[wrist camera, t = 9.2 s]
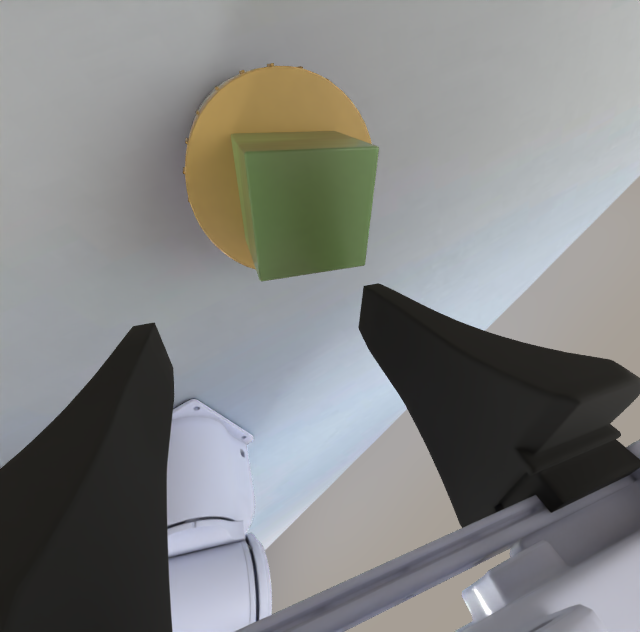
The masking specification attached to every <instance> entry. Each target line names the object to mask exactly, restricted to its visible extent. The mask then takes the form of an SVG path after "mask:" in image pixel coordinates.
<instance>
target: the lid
mask: <svg viewBox="0 0 640 632" xmlns="http://www.w3.org/2000/svg"><path fill="white" fill-rule="evenodd" d="M239 73H240V74H239V75H237V76H235V77H233V78H231V79H230V80H228V81H227V82H225V83H224V84H223V85H222V86H220V87H219V88H218V87H217V86H216V87H215V88H214V89H215V90H216V91H215V92H214V93H213V94H212V95H211V96H210V97H209V98H208V99H207V100H206V102H205V103H204V105H203V106H202V108H201V109H200V111H198V110H197V111H196V114H197V117H196V119H195V121H194V123H193V125H192V128H191V131H190V135H189V138H186V141H185V143H186V144H187V149H186V158H185V167H183V174H185V179H186V187H187V193H188V202H190V204H191V207H192V209H193V212H194V215H195V217H196V219H197V221H198V222H199V225H200V227H201V228H202V229H203V231H204V232H205V234H206V235H207V236H208V238H209V239H210V240H211V241H212V242H213V243H214V244H215V245H216V247H217V248H219V249H220V250H221V251H222V252H223V253H225V254H226V255H227V256H229V257H230V258H232V259H233V260H235V261H236V262H238V263H240V264H243V265H245V266H247V267H250V268H253V269H256V268H255V265H254V262H253V260H252V257H251V254H250V251H249V248H248V245H247V242H246V239H245V232H244V225H243V218H242V211H241V204H240V197H239V190H238V183H237V177H236V170H235V163H234V156H233V149H232V142H231V134H234V133H273V132H313V131H336V132H339V133H342V134H345V135H348V136H350V137H353V138H356V139H359V140H362V141H364V142H367V143H370V144H372V143H371V139H370V136H369V133H368V130H367V127H366V125H365V123H364V121H363V119H362V117H361V115H360V113H359V111H358V110H357V108H356V107H355V105H354V104H353V103H352V101H351V100H350V99H349V98H348V97H347V96H346V95H345V94H344V92H343V91H342V90H340V89H339V88H338V87H337V86H336V85H334V84H333V83H332V82H331V81H329V80H328V79H325V78H324V77H322V76H320V75H318V74H316V73H313V72H311V71H308V70H305V69H303V67H301V66H300V67H291V66H274V63H271V64H267V67H264V68H257V69H253V70H250V71H247V72H245V71H244V70H241V71H239Z"/></svg>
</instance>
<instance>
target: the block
mask: <svg viewBox="0 0 640 632" xmlns="http://www.w3.org/2000/svg"><path fill="white" fill-rule="evenodd" d="M231 142H232V149H233V156H234V163H235V170H236V177H237V183H238V190H239V197H240V204H241V211H242V218H243V225H244V232H245V239H246V242H247V245H248V248H249V251H250V254H251V257H252V260H253V262H254V265H255V268H256V271H257V274H258V277H259V280H260V281H268V280H274V279H281V278H287V277H293V276H300V275H306V274H313V273H319V272H326V271H332V270H339V269H345V268H351V267H358V266H364V265H365V260H366V251H367V243H368V235H369V226H370V218H371V210H372V202H373V193H374V185H375V177H376V168H377V160H378V152H379V147H378V146H375V145H373V144H370V143H367V142H364V141H362V140H359V139H356V138H353V137H350V136H348V135H345V134H342V133H339V132H336V131H313V132H273V133H234V134H231Z"/></svg>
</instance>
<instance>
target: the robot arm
mask: <svg viewBox="0 0 640 632" xmlns="http://www.w3.org/2000/svg"><path fill="white" fill-rule="evenodd" d="M359 330H360V332H361V334H362V337H363V339H364V341H365V343H366V345H367V347H368V349H369V350H370V352H371V354H372V355H373V357H374V358H375V360H376V361H377V363H378V364H379V366H380V367H381V369H382V370H383V372H384V373H385V375H386V376H387V377H388V379H389V380H390V382H391V383H392V385H393V386H394V388H395V389H396V391H397V392H398V394H399V395H400V397H401V399H402V400H403V402H404V403H405V405H406V407H407V409H408V411H409V413H410V415H411V417H412V418H413V420H414V422H415V424H416V426H417V428H418V430H419V432H420V434H421V436H422V438H423V440H424V442H425V444H426V446H427V448H428V450H429V452H430V455H431V457H432V459H433V461H434V463H435V466H436V467H437V470H438V472H439V474H440V476H441V479H442V481H443V484H444V486H445V488H446V491H447V493H448V495H449V498H450V500H451V503H452V505H453V507H454V510H455V513H456V515H457V518H458V520H459V523H460V525H461V526H462V529H459V530H457V531H455V532H452V533H450V534H448V535H446V536H444V537H441V538H439V539H437V540H435V541H433V542H430V543H428V544H426V545H424V546H422V547H419V548H417V549H415V550H413V551H411V552H408V553H406V554H404V555H402V556H400V557H398V558H395V559H393V560H391V561H389V562H386V563H384V564H382V565H380V566H377V567H375V568H373V569H371V570H369V571H366V572H364V573H362V574H360V575H358V576H356V577H353V578H351V579H349V580H347V581H344V582H342V583H340V584H338V585H336V586H333V587H331V588H329V589H327V590H325V591H322V592H320V593H318V594H316V595H314V596H312V597H309V598H307V599H305V600H303V601H300V602H298V603H296V604H294V605H292V606H289V607H287V608H285V609H283V610H281V611H278V612H276V613H274V614H272V588H271V578H270V571H269V565H268V561H267V556H266V553H265V550H264V548H263V546H262V544H261V543H260V541H259V540H258V539H257V538H256V537H255V535H254V534H252V533H248V534H246V533H247V532H248V530H249V528H250V526H251V523H252V520H253V517H254V512H255V493H254V487H253V481H252V474H251V468H250V461H249V455H248V449H247V445H248V444H249V443H251V442H253V440H254V437H253V435H251V434H250V433H248V432H247V431H245V430H244V429H242V428H240V427H239V426H237V425H236V424H234V423H233V422H231V421H229V420H228V419H226V418H225V417H223V416H222V415H220V414H219V413H217V412H215V411H214V410H212V409H211V408H209V407H208V406H206V405H204V404H203V403H201V402H200V401H198V400H196V399H191V400H188V401H187V402H185V403H183V404H182V405H180V406H179V407H177V408H175V409H174V410H173V403H174V376H173V366H172V364H171V361H170V359H169V357H168V354H167V352H166V349H165V347H164V344H163V342H162V340H161V337H160V335H159V332H158V330H157V327H156V325H155V323H149V324H144V325H138V326H133V327H132V328H131V329H130V331H129V332H128V333H127V335H126V336H125V337H124V338H123V340H122V341H121V342H120V344H119V345H118V346H117V347H116V349H115V350H114V351H113V353H112V354H111V355H110V357H109V358H108V359H107V360H106V362H105V363H104V364H103V365H102V367H101V368H100V369H99V370H98V372H97V373H96V374H95V375H94V376H93V378H92V379H91V380H90V381H89V382H88V383H87V385H86V386H85V387H84V388H83V389H82V390H81V391H80V392H79V394H78V395H77V396H76V397H75V398H74V399H73V400H72V401H71V403H70V404H69V405H68V406H67V407H66V408H65V409H64V410H63V411H62V412H61V413H60V414H59V415H58V416H57V417H56V418H55V419H54V420H53V421H52V422H51V423H50V424H49V425H48V426H47V427H46V428H45V429H44V430H43V431H42V432H41V433H40V434H39V435H38V436H37V437H36V438H35V439H34V440H33V441H32V442H31V443H29V444H28V445H27V446H26V447H25V448H24V449H23V450H22V451H21V452H19V453H18V454H17V455H16V456H15V457H14V458H12V459H11V460H10V461H9V462H8V463H7V464H6V465H4V466H3V467H2V468H1V469H0V632H344V631H346V630H348V629H350V628H352V627H354V626H356V625H358V624H360V623H362V622H364V621H366V620H368V619H370V618H372V617H374V616H376V615H378V614H380V613H382V612H384V611H386V610H388V609H390V608H392V607H394V606H396V605H398V604H400V603H402V602H404V601H406V600H408V599H410V598H412V597H414V596H416V595H418V594H420V593H422V592H424V591H426V590H428V589H430V588H432V587H434V586H436V585H438V584H440V583H442V582H444V581H446V580H448V579H450V578H452V577H454V576H456V575H458V574H460V573H462V572H464V571H466V570H468V569H470V568H472V567H474V566H476V565H478V564H480V563H482V562H484V561H486V560H488V559H490V558H492V557H494V556H496V555H498V554H500V553H502V552H504V551H506V550H508V549H510V548H511V549H510V557H511V558H509V559H508V560H506V561H504V562H502V563H501V564H499V565H497V566H496V567H494V568H492V569H490V570H489V571H488V572H487V573H486V574H485V575H484V576H483V577H482V578H480V579H479V580H478V581H476V582H475V583H473V584H472V585H471V586H469V587H468V588H466V589H465V590H463V591H462V597H463V599H464V601H465V603H466V605H467V607H468V608H469V610H470V612H471V614H472V618H473V621H472V622H470V623H469V624H467V625H465V626H463V627H461V628H460V629H458V630H456V631H454V632H640V440H638V441H636V442H634V443H632V444H631V445H629V446H628V447H624V446H623V445H622V444H621V443H620V442H618V441H617V440H616V439H617V438H619V437H620V436H621V433H620V432H619V431H618V430H617V429H616V428H614V427H613V426H612V425H611V424H610V423H611V422H612V421H613V420H614V419H615V418H616V417H617V416H619V415H620V414H621V413H622V412H623V411H624V410H625V409H626V408H627V407H628V406H629V405H630V404H631V403H632V402H633V401H634V400H635V399H636V398H637V397H638V396H639V394H640V378H639V377H638V376H636V375H635V374H633V373H631V372H630V371H629V370H627V369H625V368H624V367H622V366H621V365H619V364H618V363H616V362H614V361H612V360H609V359H603V358H597V357H591V356H585V355H579V354H573V353H567V352H562V351H558V350H553V349H548V348H544V347H539V346H535V345H531V344H527V343H523V342H519V341H516V340H512V339H509V338H505V337H502V336H499V335H495V334H492V333H489V332H486V331H483V330H481V329H478V328H475V327H472V326H469V325H467V324H464V323H462V322H459V321H457V320H454V319H452V318H450V317H448V316H445V315H443V314H441V313H438V312H436V311H434V310H432V309H430V308H428V307H426V306H424V305H422V304H420V303H418V302H416V301H414V300H412V299H410V298H408V297H406V296H404V295H402V294H400V293H398V292H396V291H394V290H392V289H390V288H388V287H386V286H383V285H381V284H373V285H367V286H364V288H363V296H362V304H361V313H360V321H359ZM271 614H272V615H271Z"/></svg>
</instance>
